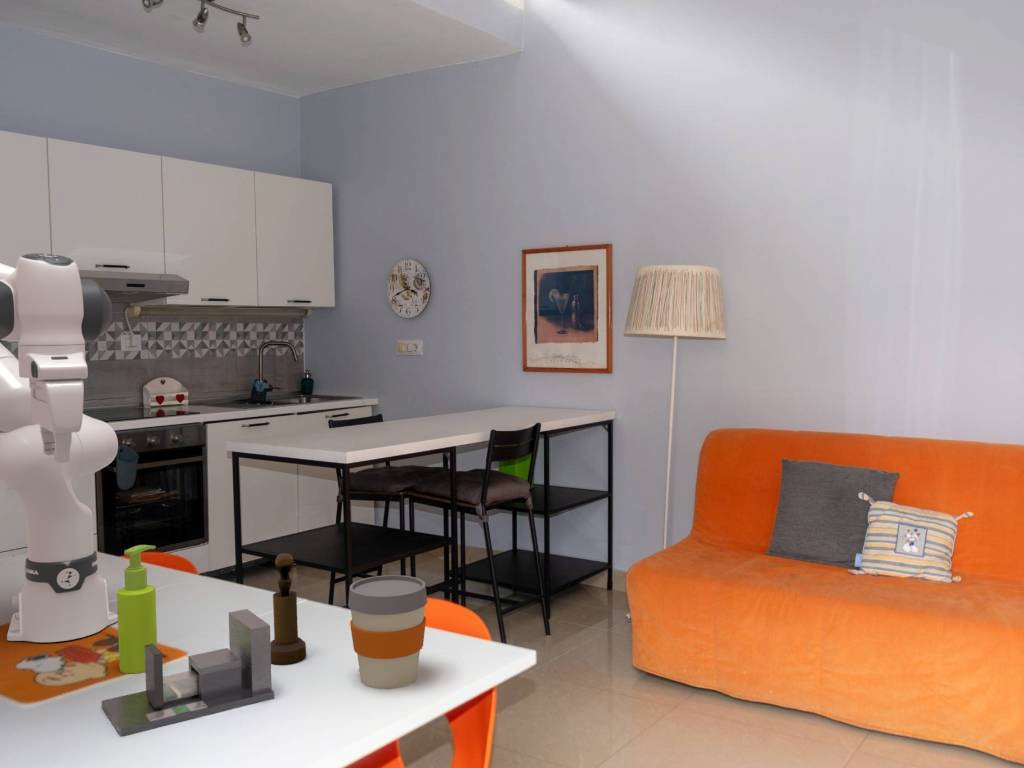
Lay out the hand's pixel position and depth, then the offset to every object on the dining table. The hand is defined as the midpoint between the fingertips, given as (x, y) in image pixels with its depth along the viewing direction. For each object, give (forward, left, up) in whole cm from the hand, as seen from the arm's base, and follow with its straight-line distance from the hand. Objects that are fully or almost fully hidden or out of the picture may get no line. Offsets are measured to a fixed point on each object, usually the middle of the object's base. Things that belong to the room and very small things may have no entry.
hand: (56, 458), depth 137 cm
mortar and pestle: (+2, +34, -37) cm, 51 cm away
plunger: (+13, +15, -36) cm, 41 cm away
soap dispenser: (-9, +13, -37) cm, 40 cm away
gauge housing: (+11, +15, -37) cm, 41 cm away
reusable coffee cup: (+20, +44, -37) cm, 61 cm away
